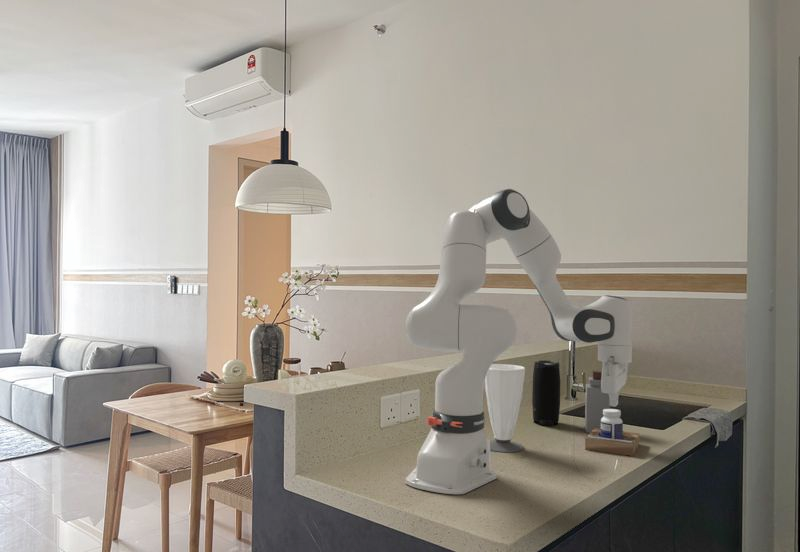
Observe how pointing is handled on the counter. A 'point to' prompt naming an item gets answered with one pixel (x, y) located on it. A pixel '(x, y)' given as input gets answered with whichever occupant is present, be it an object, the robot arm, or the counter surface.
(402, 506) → the counter surface
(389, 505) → the counter surface
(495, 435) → the cup
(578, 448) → the counter surface
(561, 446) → the counter surface
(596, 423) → the perfume bottle
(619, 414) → the pill bottle
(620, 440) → the jig
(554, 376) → the portable speaker
